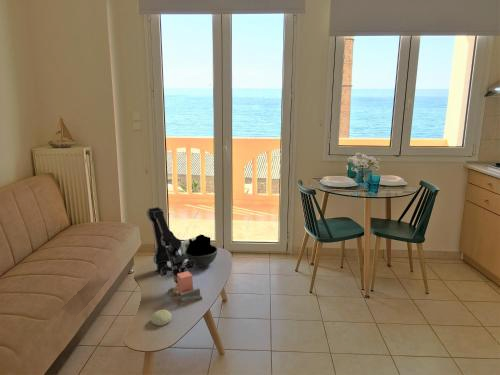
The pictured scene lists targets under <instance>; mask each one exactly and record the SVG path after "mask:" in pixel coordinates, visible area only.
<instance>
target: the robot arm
mask: <svg viewBox="0 0 500 375" xmlns="http://www.w3.org/2000/svg"><path fill="white" fill-rule="evenodd" d="M164 215H165V214H164V210H163V209H162V208H160V207H159V206H156V207H151V208H148V209H147V210H146V217H147V218H148V220H149V222H151V224H152V230H153V234H154V240H155V250H154V255H153V258H152V259H153V263H154V264H155V265H156V269H155V270H154V272H155V273H158V274H159V275H160V277H164V276H167V274H168V273H169V272H171V275H173V276H175V277H176V278H177V274H179V273H182V272H186V269H187V270H190V269H193V268H194V267H195V264H196V263H195V261H194V260H189V261H188V259H187V255H186V253H185V254H182V253H181V254H180V253H179V250H180V246H181V242H182V241H181V240H180V239H179V238H177V237H176V236H175V235H174V234H175V233H174V232H173V231H171V230H170V229H169V227H168V223H167V221H166V218H165V216H164ZM185 260H187V261H185ZM168 262H169V263H170V265H171V266H170V267H169V265H168ZM184 262H186V263H184Z"/></svg>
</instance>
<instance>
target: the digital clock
mask: <svg viewBox="0 0 500 375" xmlns="http://www.w3.org/2000/svg"><path fill="white" fill-rule="evenodd" d="M189 239H192V241H193V240H195V239H196V236H194V237H191V238H188V239H185V240H183V241H181V246H180V248H179V250H180V252H181V255H182V254H185V250H186V249H187V248H188V246H189Z"/></svg>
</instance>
